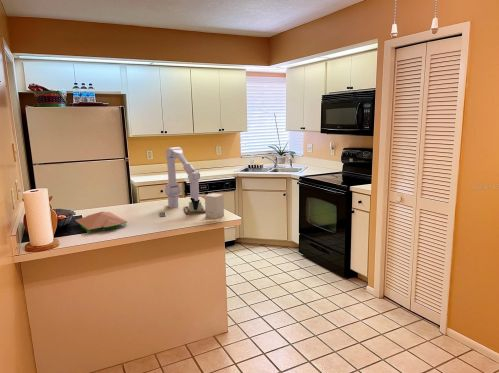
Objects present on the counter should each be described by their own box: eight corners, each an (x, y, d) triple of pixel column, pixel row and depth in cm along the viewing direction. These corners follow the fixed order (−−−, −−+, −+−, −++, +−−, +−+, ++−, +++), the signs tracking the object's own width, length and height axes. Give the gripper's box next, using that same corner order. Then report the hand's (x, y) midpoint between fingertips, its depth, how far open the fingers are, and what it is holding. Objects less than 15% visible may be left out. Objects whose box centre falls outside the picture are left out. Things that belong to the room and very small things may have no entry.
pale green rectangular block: (189, 211, 252) (188, 202, 251) (200, 211, 254) (200, 201, 253) (189, 213, 248) (189, 203, 247) (201, 212, 250) (201, 202, 249)
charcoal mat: (159, 213, 253) (159, 212, 253) (180, 211, 256) (180, 210, 256) (160, 217, 243) (160, 216, 243) (181, 215, 247) (181, 214, 247)
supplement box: (224, 216, 243) (224, 194, 240) (216, 219, 236) (215, 197, 233) (213, 214, 248) (213, 192, 245) (205, 217, 241) (204, 195, 238)
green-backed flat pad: (90, 236, 207) (89, 222, 206) (73, 223, 232) (72, 210, 230) (130, 228, 222) (129, 215, 220) (109, 216, 246) (108, 204, 245)
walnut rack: (183, 209, 261) (183, 206, 261) (202, 208, 265) (201, 205, 264) (186, 215, 246) (186, 212, 245) (205, 214, 249) (205, 211, 249)
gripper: (202, 191, 242) (202, 211, 245) (198, 186, 256) (199, 205, 259) (191, 191, 240) (192, 211, 243) (188, 187, 254) (189, 206, 257)
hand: (195, 208), depth 251 cm, fingers closed on pale green rectangular block, 4 cm apart
